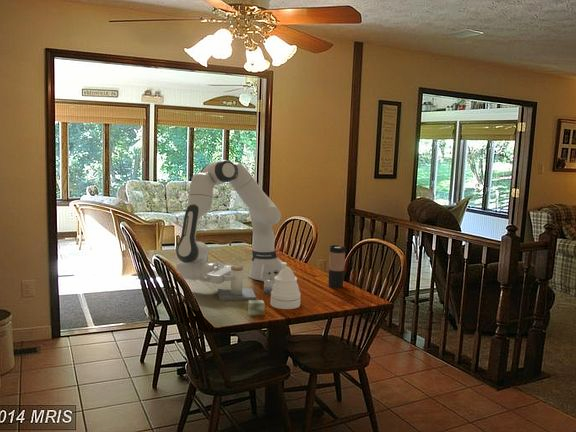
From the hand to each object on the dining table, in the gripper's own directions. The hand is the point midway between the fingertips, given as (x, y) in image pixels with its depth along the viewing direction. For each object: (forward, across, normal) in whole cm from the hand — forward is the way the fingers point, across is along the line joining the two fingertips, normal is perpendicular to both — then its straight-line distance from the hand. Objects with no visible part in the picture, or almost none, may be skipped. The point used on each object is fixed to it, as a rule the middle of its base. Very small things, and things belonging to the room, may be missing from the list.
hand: (238, 276), depth 228 cm
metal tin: (+12, +11, +9) cm, 18 cm away
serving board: (-1, 0, +9) cm, 9 cm away
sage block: (+16, -19, +9) cm, 27 cm away
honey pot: (+23, -3, +10) cm, 25 cm away
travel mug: (+38, +34, +9) cm, 52 cm away
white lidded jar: (-1, 0, +8) cm, 8 cm away
